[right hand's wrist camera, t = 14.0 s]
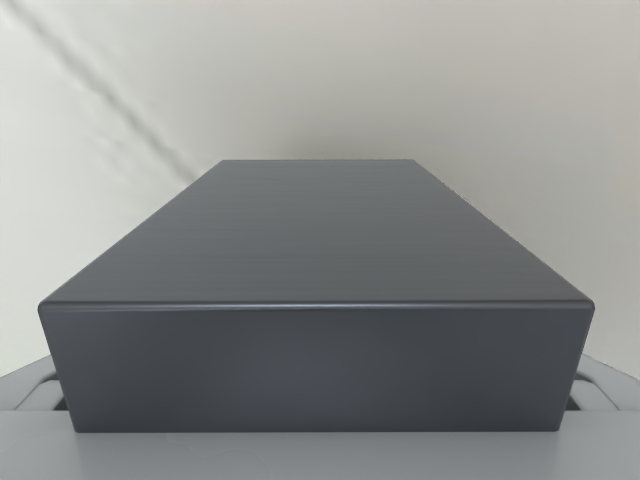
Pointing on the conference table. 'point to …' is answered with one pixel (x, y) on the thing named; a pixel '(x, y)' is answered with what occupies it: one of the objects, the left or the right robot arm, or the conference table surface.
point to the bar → (316, 311)
